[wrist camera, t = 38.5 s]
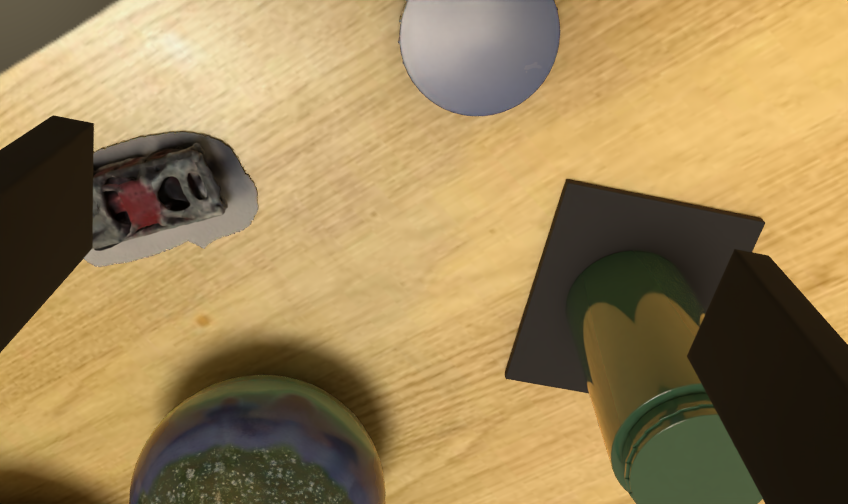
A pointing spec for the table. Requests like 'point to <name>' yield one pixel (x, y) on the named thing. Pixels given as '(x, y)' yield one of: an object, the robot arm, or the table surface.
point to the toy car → (166, 196)
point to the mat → (607, 234)
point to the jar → (652, 383)
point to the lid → (479, 51)
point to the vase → (259, 449)
